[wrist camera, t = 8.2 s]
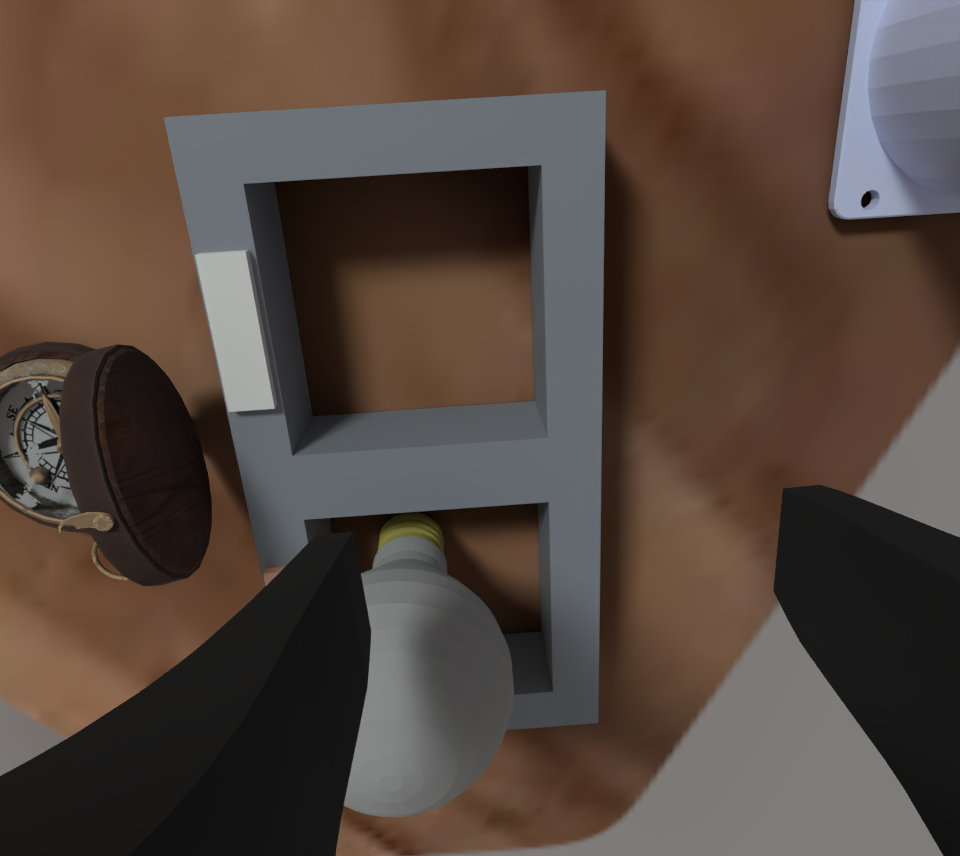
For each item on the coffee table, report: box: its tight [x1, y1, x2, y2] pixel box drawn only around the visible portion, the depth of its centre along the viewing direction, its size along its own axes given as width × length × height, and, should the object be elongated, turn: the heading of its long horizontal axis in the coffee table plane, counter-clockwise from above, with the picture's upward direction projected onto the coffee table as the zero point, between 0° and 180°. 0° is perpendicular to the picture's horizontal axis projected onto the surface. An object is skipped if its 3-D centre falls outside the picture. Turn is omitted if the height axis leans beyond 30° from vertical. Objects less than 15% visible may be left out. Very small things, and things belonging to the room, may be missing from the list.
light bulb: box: [344, 512, 514, 817], centre depth 18 cm, size 6×6×10 cm
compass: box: [0, 342, 212, 586], centre depth 18 cm, size 8×8×7 cm
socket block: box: [164, 90, 606, 730], centre depth 20 cm, size 10×19×3 cm, turn 3°
